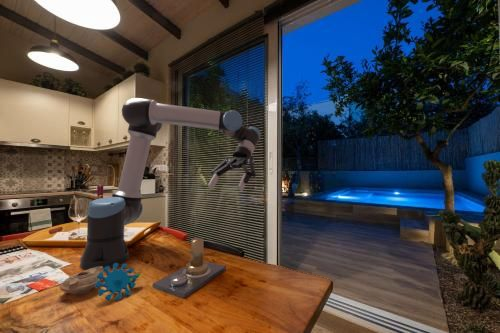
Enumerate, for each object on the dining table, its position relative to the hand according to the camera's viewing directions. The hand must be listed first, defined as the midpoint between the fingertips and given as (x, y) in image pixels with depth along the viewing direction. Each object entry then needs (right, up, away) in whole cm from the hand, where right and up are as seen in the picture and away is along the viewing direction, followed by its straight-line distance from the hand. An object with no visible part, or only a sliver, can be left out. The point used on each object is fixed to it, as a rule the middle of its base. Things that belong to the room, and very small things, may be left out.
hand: (224, 188), depth 83 cm
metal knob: (-8, -26, -11) cm, 29 cm away
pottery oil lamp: (-37, -27, -20) cm, 50 cm away
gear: (-26, -27, -23) cm, 44 cm away
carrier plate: (-9, -27, -13) cm, 31 cm away
